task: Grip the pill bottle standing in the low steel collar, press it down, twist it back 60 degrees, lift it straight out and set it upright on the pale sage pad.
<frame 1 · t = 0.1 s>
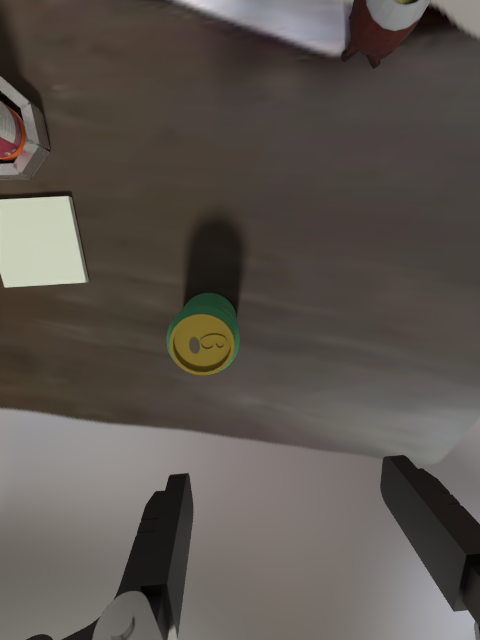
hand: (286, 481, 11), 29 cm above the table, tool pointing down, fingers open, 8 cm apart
steel collar: (4, 133, 32), on the table
pill bottle: (5, 134, 32), resting in steel collar
mate gourd: (367, 42, 31), on the table
sage pad: (39, 243, 35), on the table
beverage can: (209, 317, 39), on the table
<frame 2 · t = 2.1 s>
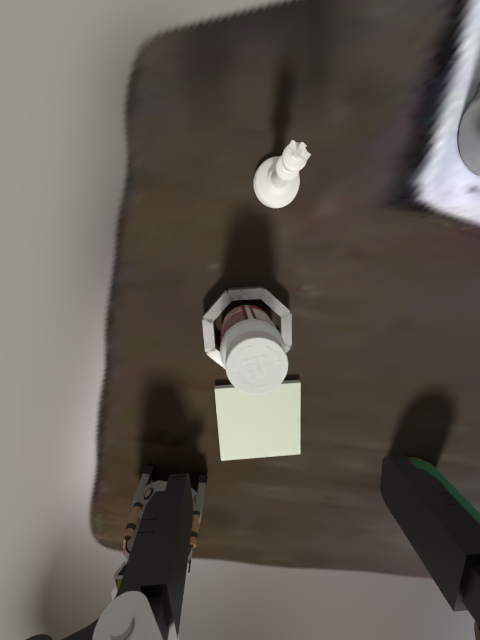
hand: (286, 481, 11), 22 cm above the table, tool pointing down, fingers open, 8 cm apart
steel collar: (246, 328, 32), on the table
chess piece: (275, 184, 28), on the table
pill bottle: (246, 327, 32), resting in steel collar
sage pad: (258, 419, 35), on the table
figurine: (172, 490, 38), on the table
beverage can: (406, 475, 39), on the table
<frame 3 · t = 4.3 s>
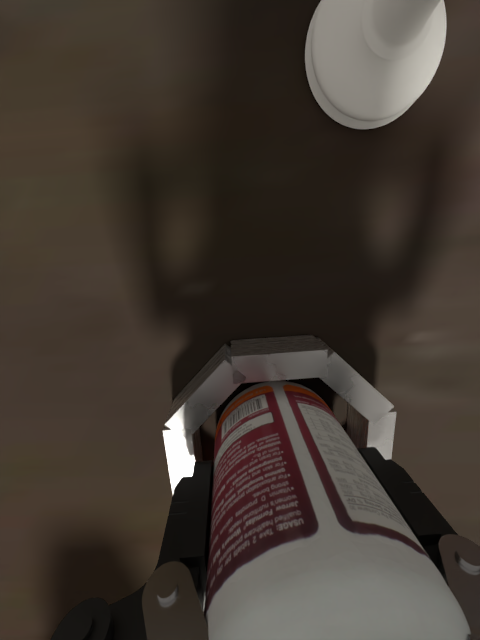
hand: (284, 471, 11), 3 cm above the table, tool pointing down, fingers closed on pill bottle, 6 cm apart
steel collar: (274, 429, 14), on the table
chess piece: (366, 58, 10), on the table
pill bottle: (273, 426, 14), resting in steel collar, touching gripper
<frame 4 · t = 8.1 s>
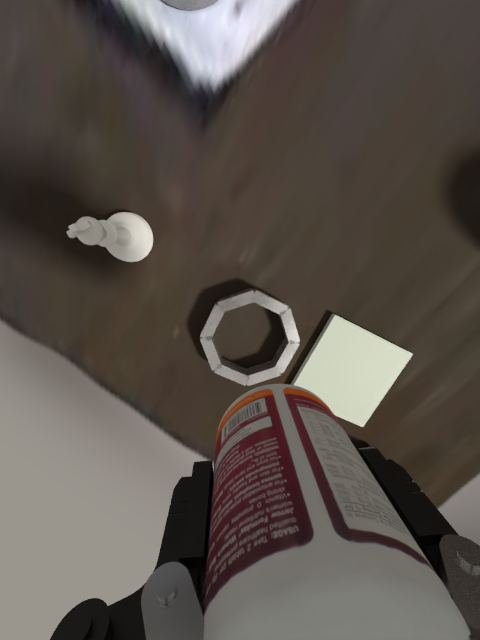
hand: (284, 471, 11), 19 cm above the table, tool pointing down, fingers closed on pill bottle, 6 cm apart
steel collar: (248, 334, 30), on the table
chess piece: (129, 237, 27), on the table
pill bottle: (275, 430, 14), point 17 cm above the table, touching gripper
sage pad: (346, 371, 32), on the table
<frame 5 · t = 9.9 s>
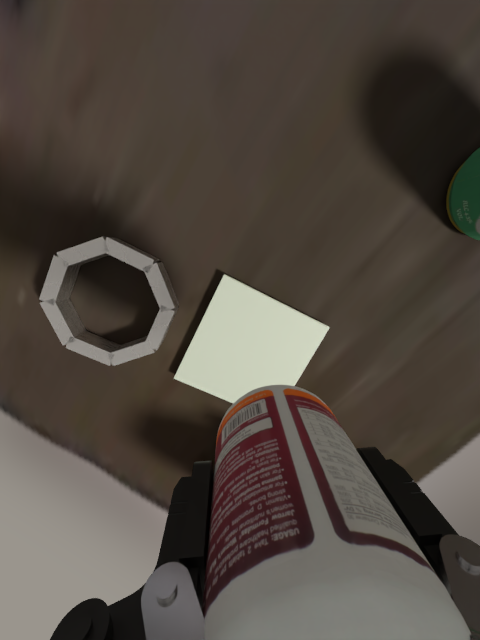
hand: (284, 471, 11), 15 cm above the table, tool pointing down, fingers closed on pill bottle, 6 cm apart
steel collar: (118, 301, 23), on the table
pill bottle: (275, 430, 14), point 12 cm above the table, touching gripper
sage pad: (250, 350, 25), on the table
when the fingers open (5 cm above the table, at t = 11.8 s): pill bottle drops 2 cm, resting on sage pad.
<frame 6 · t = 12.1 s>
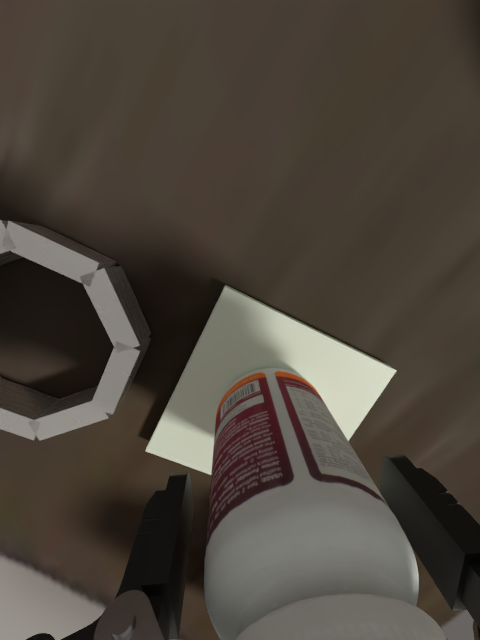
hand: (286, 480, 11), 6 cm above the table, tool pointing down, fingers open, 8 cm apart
steel collar: (50, 330, 14), on the table
pill bottle: (268, 409, 15), point 1 cm above the table, touching sage pad
sage pad: (266, 403, 16), on the table
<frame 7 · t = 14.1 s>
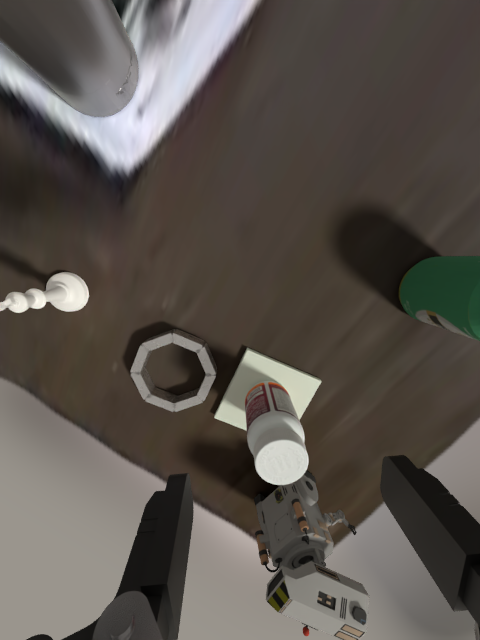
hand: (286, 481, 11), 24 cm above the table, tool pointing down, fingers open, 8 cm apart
steel collar: (176, 367, 35), on the table
chess piece: (70, 291, 33), on the table
pill bottle: (267, 398, 35), point 1 cm above the table, touching sage pad
sage pad: (266, 396, 36), on the table
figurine: (293, 490, 40), on the table
beverage can: (425, 288, 33), on the table
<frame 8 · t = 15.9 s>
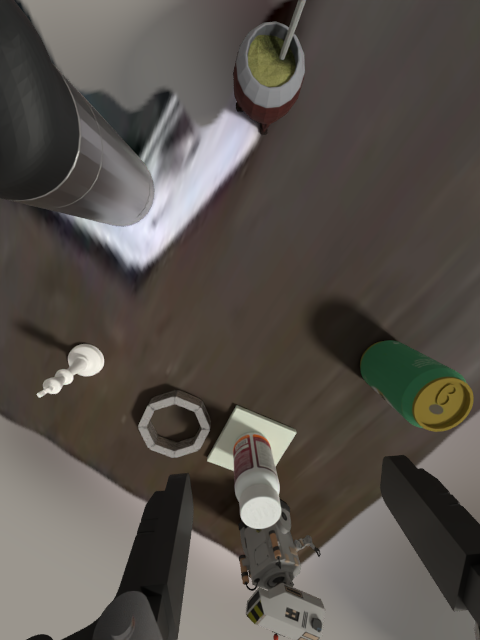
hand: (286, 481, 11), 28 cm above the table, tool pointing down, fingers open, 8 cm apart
steel collar: (176, 420, 41), on the table
chess piece: (87, 358, 38), on the table
pill bottle: (251, 445, 43), point 1 cm above the table, touching sage pad
mate gourd: (263, 101, 31), on the table
sage pad: (251, 443, 43), on the table
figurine: (271, 517, 48), on the table
beverage can: (381, 361, 41), on the table
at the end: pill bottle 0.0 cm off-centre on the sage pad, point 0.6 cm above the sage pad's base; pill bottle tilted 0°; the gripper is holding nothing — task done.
